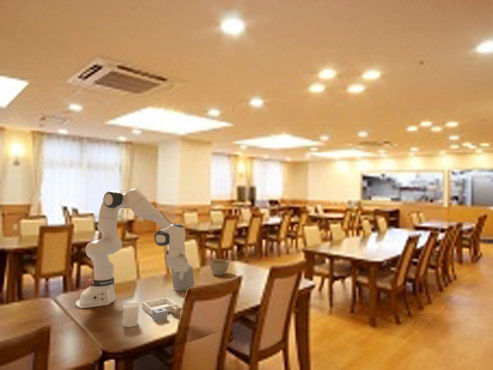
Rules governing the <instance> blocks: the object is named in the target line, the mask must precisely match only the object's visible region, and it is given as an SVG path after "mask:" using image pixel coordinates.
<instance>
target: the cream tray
mask: <svg viewBox="0 0 493 370" xmlns="http://www.w3.org/2000/svg"><path fill="white" fill-rule="evenodd" d="M177 305H178V304H177V303H176V302H174V301H173V300H171V298H168V297H162V298H156V299H151V300H148V301H143V302H142V309H143V310H144V311H145V312H146V313H147V314H148V315H149V316H151V317H152V312H153V309H157V308H162V307H163V308H165V309H166V310H167V314H168V313H171V308H172V306H177Z"/></svg>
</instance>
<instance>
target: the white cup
mask: <svg viewBox="0 0 493 370" xmlns="http://www.w3.org/2000/svg"><path fill="white" fill-rule="evenodd" d="M139 309H140V304H139V303H138V302H128V303H125V304H123V305H122V319H123V326H124V327H125V326H126V327H125V328H133V327H136V326H137V325H138V320H139ZM132 326H133V327H132Z"/></svg>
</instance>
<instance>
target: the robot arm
mask: <svg viewBox="0 0 493 370" xmlns="http://www.w3.org/2000/svg"><path fill="white" fill-rule="evenodd" d="M102 200H103V201H102V202H101V205H100V209H99V212H98V220H97V230H98V231H99V232H100V233H101V238H99V239H95V240H93V241H90V242H88V243H87V244H86V246H85V255H86V256H87V257H88V258H89V259H91V261H92V264H93V271H94V273H93V274H94V277H93V278H89V279H88V282H89V283H90V285H89V286H87V288H86V289H84V290H82V292H81V293H80V297H79V299H78V300H76V301H75V306H76V307H77V308H78V309H86V308H87V309H88V308H93V307H94V308H95V307H101V306H108V305H110V304H111V303H113V302H115V301H116V299H117V298H116V295H115V288H114V287H115V277H114V271H115V269H114V264H113V262H110V259H109V256H110V255H114V254H117V252H119V251H120V250H121V249H122V247H123V243H122V239H120V238H119V236H118V231H117V229H118V228H117V227H118V218H119V211H120V209H128V208H130V209H131V211H132V212H133V214H134V215H135V216H136V217H137V218H139V219H142V220H148V221H152V222H154V223H156V224H157V225H158V227H160V228H161V229H159V230H157V231H156V232H155V234H154V236H153V238H154V239H153V240H154V242H155V244H156V245H157V246H159V247H166V246H168V249H167V250H165V254H166V265H167V267H168V268H170V271H171V277H172V276H175V275H176V272H175V269H176V270H178V271H180V276H179V279H183V275H184V272H187V271H188V264H189V263H188V257H186V245H185V241H186V231H185V226H184V225H183V224H181V223H172V222H171V221H170V220H169V219H168V218H167V217H166V216H165V215H164V214H163V213H162V212H161V211H160V210H159V209H157V207H155V206H154V205H153V204H152V203H151V202H150V201H149V199H148V198H147V197H146V196H145V195H144V194H143V193H142V192H141V191H140V190H139V189H138V188H132V189H131V188H130V190H123V189H121V190H120V189H119V190H110V191H107V192H105V194H104V195H103V199H102Z"/></svg>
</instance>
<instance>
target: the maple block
mask: <svg viewBox="0 0 493 370" xmlns="http://www.w3.org/2000/svg"><path fill="white" fill-rule="evenodd" d="M181 310H182V311H183V307H182V306H181V305H179V304H177V306H172V308H171V312H170V313H171V316H173V317H174V318H177V317H181V316H180V313H181Z"/></svg>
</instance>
